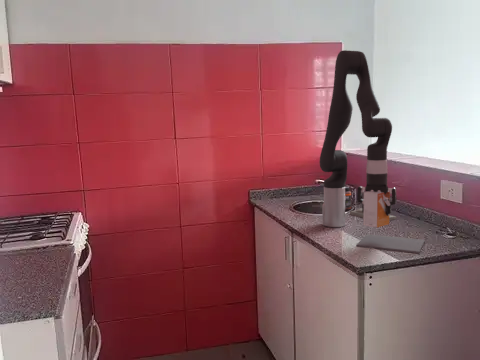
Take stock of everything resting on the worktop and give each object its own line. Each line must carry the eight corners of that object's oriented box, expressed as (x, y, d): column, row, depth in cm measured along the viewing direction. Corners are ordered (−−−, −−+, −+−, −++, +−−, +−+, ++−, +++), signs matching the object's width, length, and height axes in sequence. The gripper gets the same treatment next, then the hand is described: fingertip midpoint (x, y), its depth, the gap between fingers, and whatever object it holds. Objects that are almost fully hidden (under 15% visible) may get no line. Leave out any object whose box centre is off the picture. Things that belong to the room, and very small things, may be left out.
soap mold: (380, 223, 202) (380, 215, 202) (349, 215, 220) (349, 208, 219) (396, 220, 207) (396, 212, 207) (364, 212, 225) (365, 206, 224)
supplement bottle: (344, 206, 237) (344, 185, 236) (353, 208, 233) (353, 187, 231) (337, 208, 234) (337, 187, 232) (346, 210, 229) (346, 188, 227)
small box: (377, 228, 166) (377, 193, 164) (362, 225, 171) (363, 191, 169) (389, 224, 171) (390, 190, 169) (375, 221, 176) (376, 188, 174)
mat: (356, 246, 168) (356, 244, 168) (366, 235, 182) (366, 234, 182) (419, 253, 157) (419, 251, 157) (425, 241, 171) (425, 239, 171)
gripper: (355, 172, 169) (355, 215, 171) (394, 173, 162) (394, 217, 164) (360, 170, 175) (360, 211, 177) (398, 171, 168) (398, 213, 171)
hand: (376, 214), depth 171 cm, fingers closed on small box, 8 cm apart
